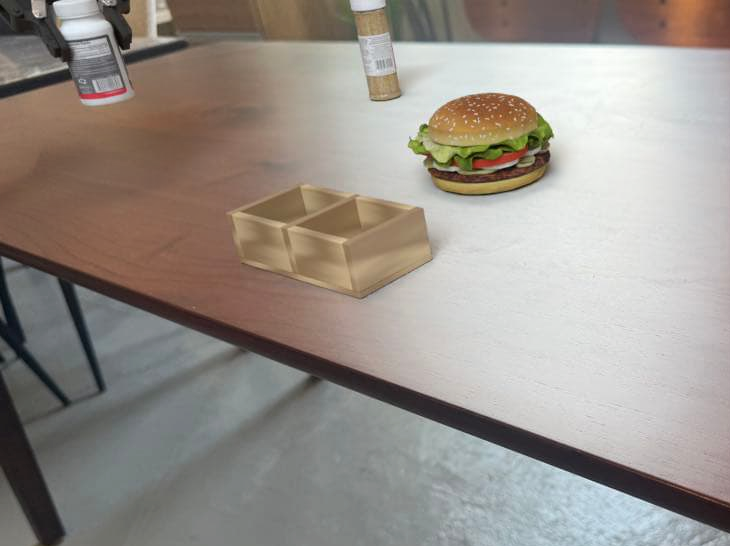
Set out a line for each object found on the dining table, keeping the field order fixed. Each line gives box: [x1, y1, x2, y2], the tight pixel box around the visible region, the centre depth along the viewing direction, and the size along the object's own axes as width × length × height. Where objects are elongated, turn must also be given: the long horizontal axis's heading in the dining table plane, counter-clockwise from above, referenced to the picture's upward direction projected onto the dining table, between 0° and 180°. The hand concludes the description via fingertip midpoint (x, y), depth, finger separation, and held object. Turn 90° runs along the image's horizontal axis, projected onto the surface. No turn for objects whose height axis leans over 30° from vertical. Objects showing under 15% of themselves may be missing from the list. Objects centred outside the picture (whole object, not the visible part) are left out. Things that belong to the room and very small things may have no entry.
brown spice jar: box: [349, 0, 402, 101], centre depth 117 cm, size 5×5×14 cm
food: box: [407, 91, 555, 195], centre depth 85 cm, size 14×14×8 cm
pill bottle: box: [52, 0, 136, 108], centre depth 88 cm, size 5×5×10 cm
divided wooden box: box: [225, 182, 433, 300], centre depth 72 cm, size 15×8×4 cm, turn 53°
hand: (97, 49), depth 87 cm, fingers closed on pill bottle, 5 cm apart
